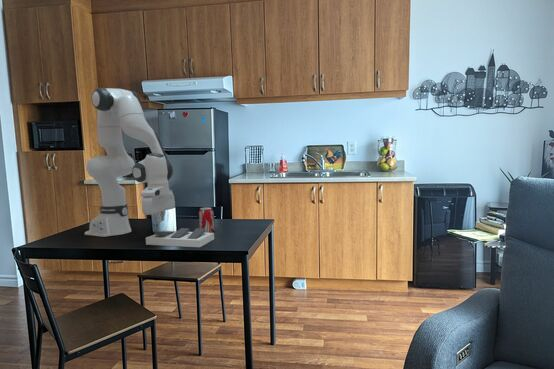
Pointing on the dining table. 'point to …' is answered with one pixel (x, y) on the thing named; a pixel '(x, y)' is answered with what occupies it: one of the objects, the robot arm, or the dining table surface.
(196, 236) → the rocker
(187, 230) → the middle rocker
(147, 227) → the dining table surface
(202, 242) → the rocker switch panel
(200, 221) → the soda can
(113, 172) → the robot arm
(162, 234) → the rocker
